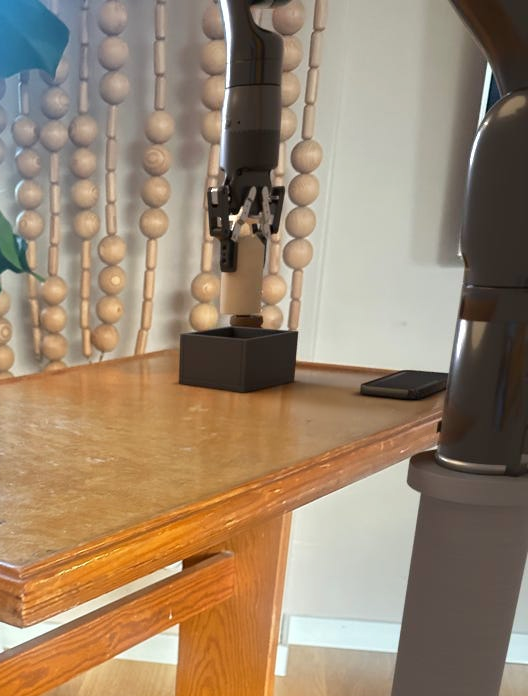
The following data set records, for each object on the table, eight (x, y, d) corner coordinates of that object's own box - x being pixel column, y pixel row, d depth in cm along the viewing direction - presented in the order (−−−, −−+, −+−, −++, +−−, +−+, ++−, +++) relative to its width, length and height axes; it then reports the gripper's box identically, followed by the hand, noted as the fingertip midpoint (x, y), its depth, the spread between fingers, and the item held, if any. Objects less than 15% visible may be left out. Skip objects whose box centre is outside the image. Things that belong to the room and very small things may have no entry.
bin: (294, 381, 130) (298, 331, 128) (244, 392, 124) (247, 340, 121) (229, 373, 138) (231, 325, 136) (178, 383, 132) (179, 333, 129)
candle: (254, 310, 130) (259, 233, 125) (265, 314, 125) (270, 233, 120) (215, 312, 129) (219, 234, 125) (225, 316, 124) (229, 235, 120)
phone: (357, 385, 120) (404, 369, 129) (356, 394, 120) (403, 377, 130) (417, 390, 115) (461, 373, 125) (416, 400, 115) (460, 382, 125)
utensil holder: (257, 365, 144) (262, 283, 139) (218, 363, 147) (222, 283, 142) (267, 360, 149) (272, 280, 144) (229, 358, 152) (233, 280, 147)
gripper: (239, 124, 111) (231, 275, 118) (308, 128, 119) (297, 268, 126) (191, 129, 116) (186, 273, 123) (260, 133, 124) (252, 267, 132)
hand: (242, 270), depth 125 cm, fingers closed on candle, 5 cm apart
